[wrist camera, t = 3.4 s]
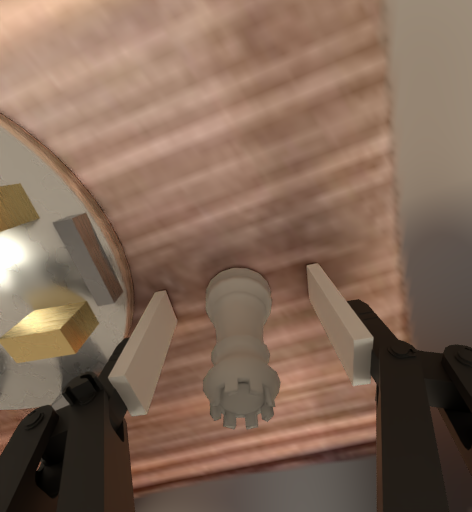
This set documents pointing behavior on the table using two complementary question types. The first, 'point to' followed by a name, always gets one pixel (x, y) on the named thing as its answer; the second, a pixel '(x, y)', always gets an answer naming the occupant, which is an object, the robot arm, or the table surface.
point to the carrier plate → (54, 276)
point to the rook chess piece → (240, 349)
